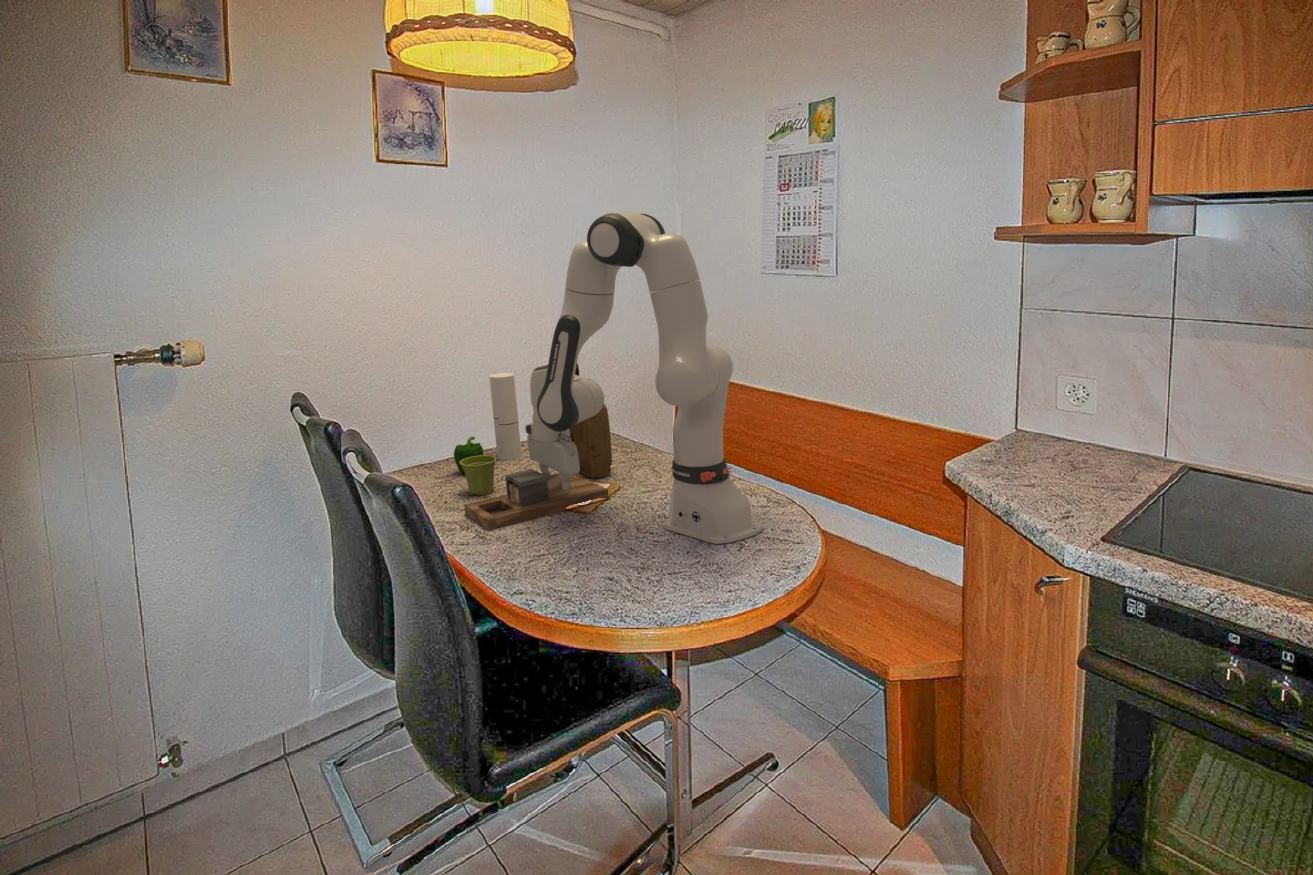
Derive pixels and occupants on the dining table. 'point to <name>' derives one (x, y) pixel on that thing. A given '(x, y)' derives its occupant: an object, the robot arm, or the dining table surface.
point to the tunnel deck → (530, 500)
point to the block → (594, 445)
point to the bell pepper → (467, 452)
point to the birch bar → (552, 488)
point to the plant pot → (479, 473)
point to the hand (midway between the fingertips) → (555, 484)
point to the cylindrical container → (505, 416)
